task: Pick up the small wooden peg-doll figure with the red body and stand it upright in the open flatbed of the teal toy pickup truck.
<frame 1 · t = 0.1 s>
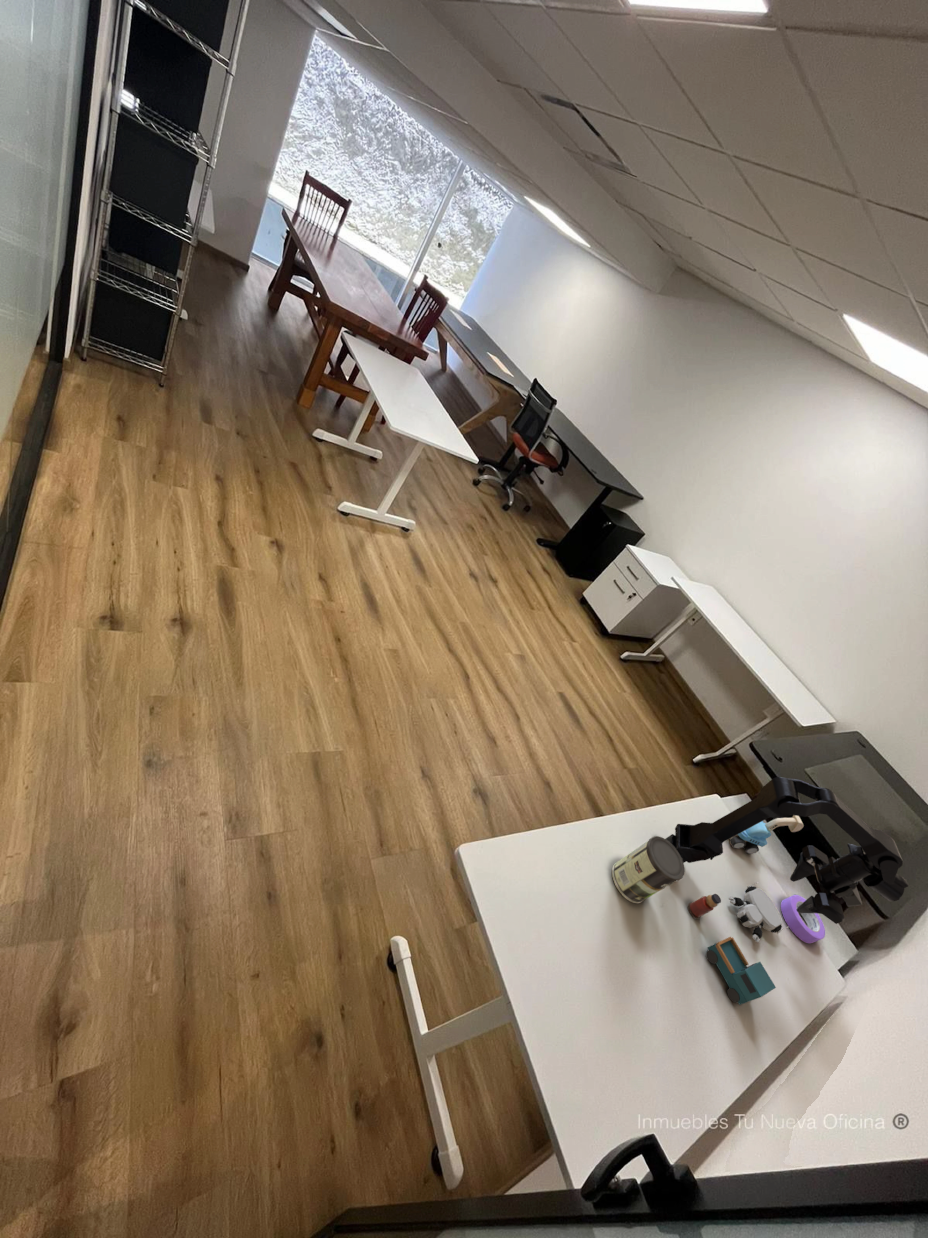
hand: (794, 895, 138), 15 cm above the table, tool pointing down, fingers open, 9 cm apart
robot toy: (749, 916, 146), on the table
figure: (693, 911, 137), on the table
toy excavator: (741, 841, 168), on the table
tape roll: (796, 921, 154), on the table
truck: (726, 973, 128), on the table
coffee can: (627, 882, 133), on the table
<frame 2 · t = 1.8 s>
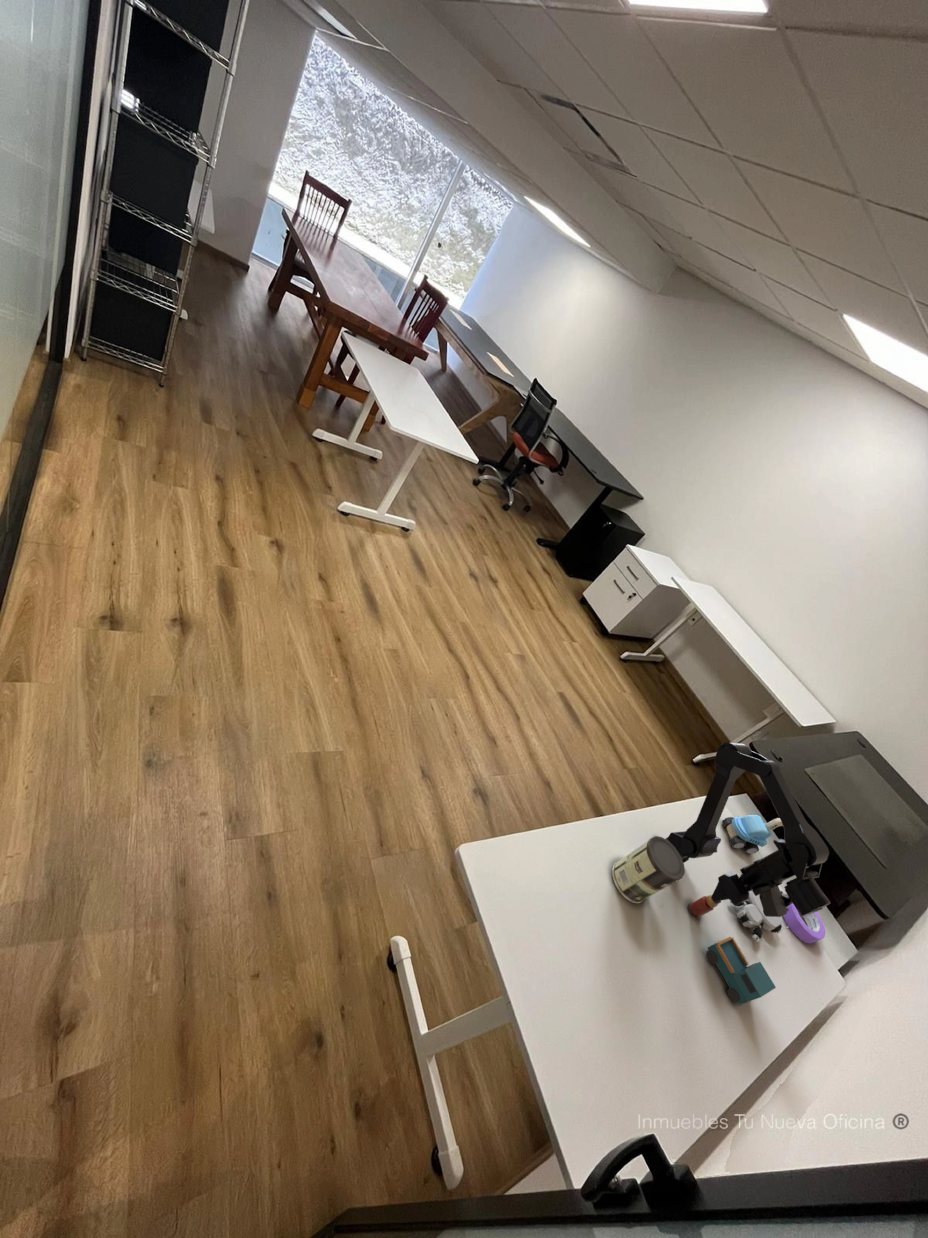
hand: (722, 895, 132), 10 cm above the table, tool pointing down, fingers open, 9 cm apart
nothing on the table moved.
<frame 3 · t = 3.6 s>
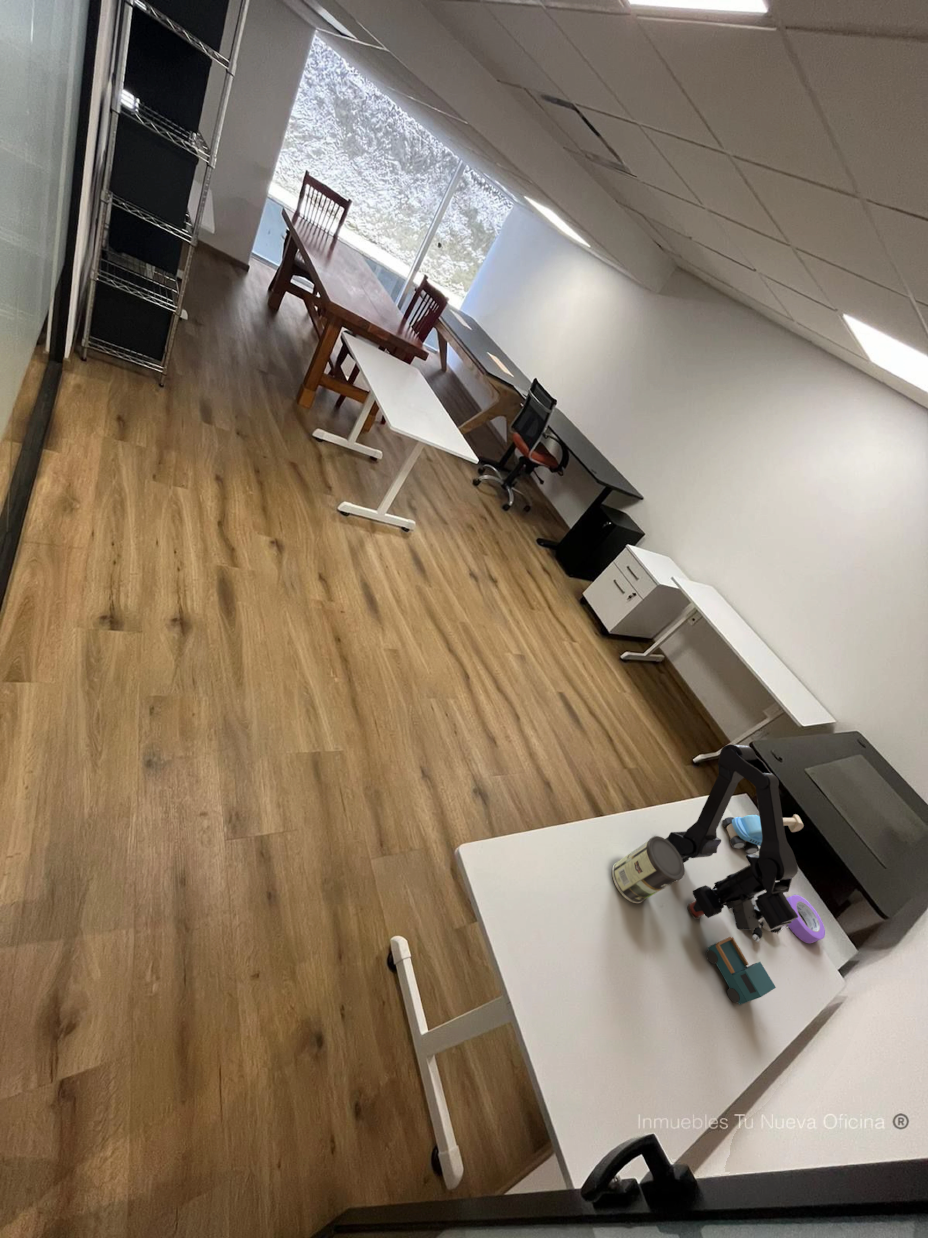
hand: (698, 908, 136), 2 cm above the table, tool pointing down, fingers closed on figure, 3 cm apart
figure: (693, 911, 137), on the table, touching gripper
everything else where it was.
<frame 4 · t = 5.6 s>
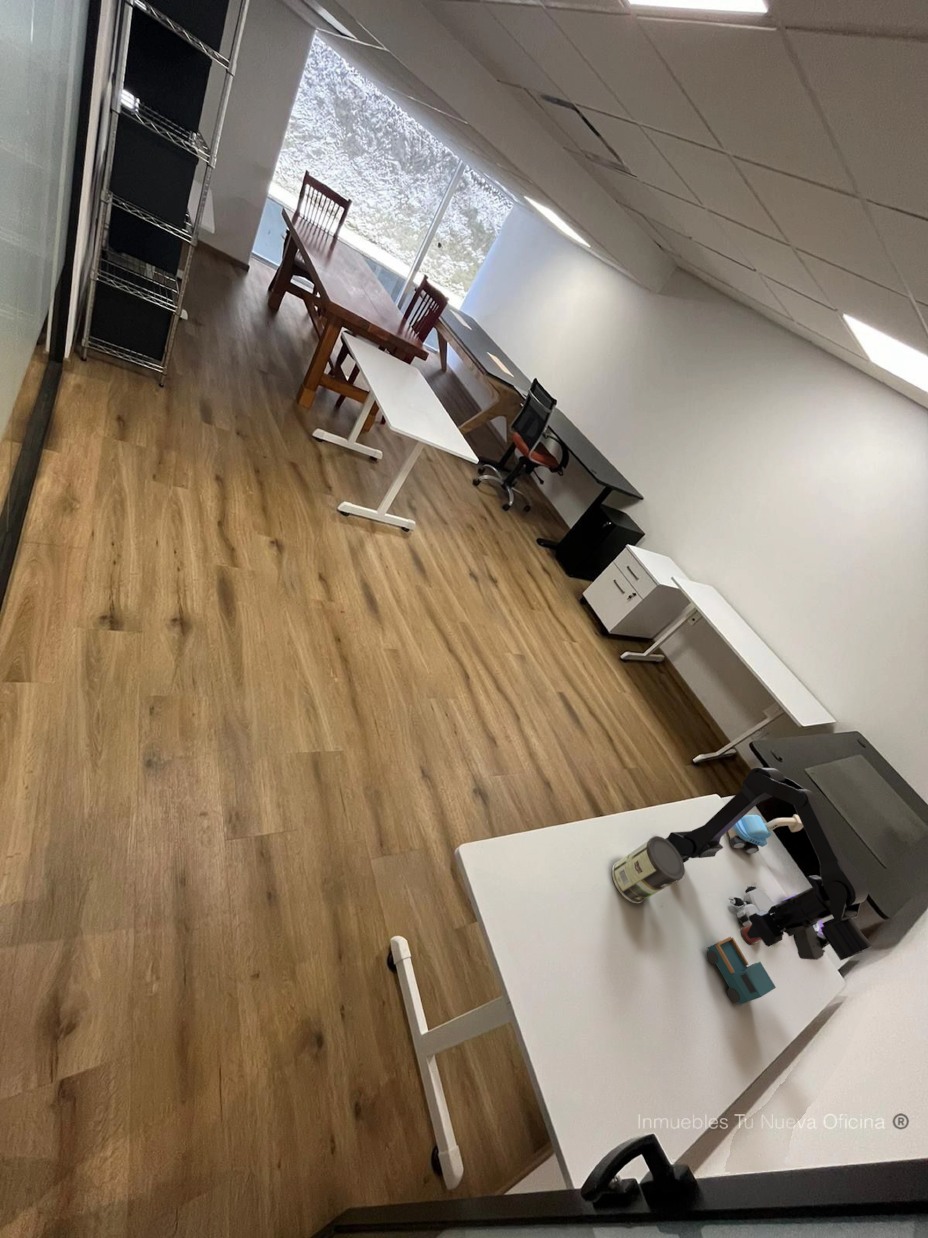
hand: (752, 934, 124), 12 cm above the table, tool pointing down, fingers closed on figure, 3 cm apart
figure: (746, 937, 125), point 10 cm above the table, touching gripper
everything else where it was.
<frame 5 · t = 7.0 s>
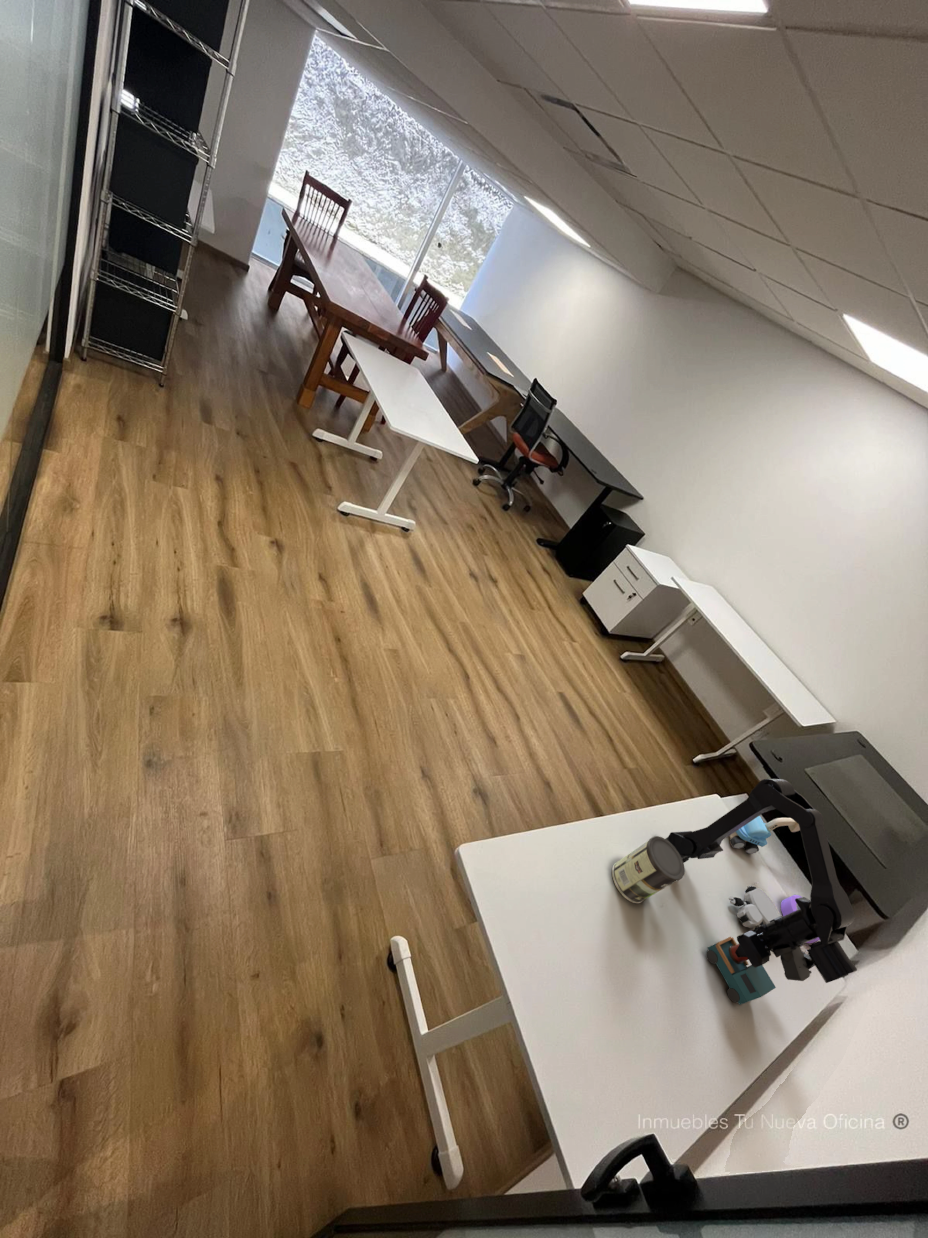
hand: (740, 952, 126), 7 cm above the table, tool pointing down, fingers closed on figure, 3 cm apart
figure: (735, 955, 127), point 5 cm above the table, touching gripper
everything else where it was.
when the fingers open (6 cm above the table, at t = 7.6 s): figure stays where it is, resting on truck.
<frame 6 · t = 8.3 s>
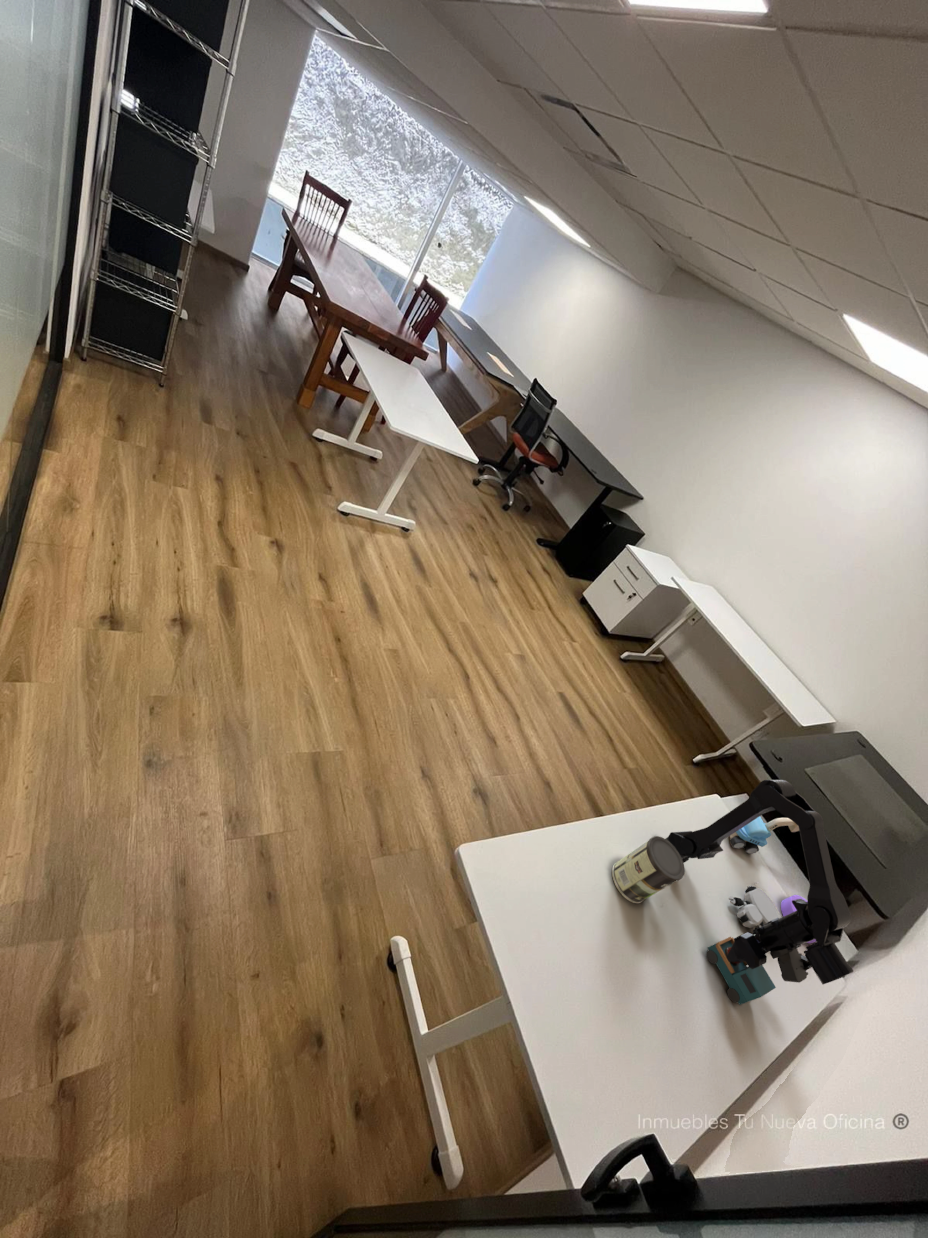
hand: (738, 954, 126), 6 cm above the table, tool pointing down, fingers open, 9 cm apart
figure: (731, 957, 127), point 4 cm above the table, touching truck
truck: (726, 973, 128), on the table, touching figure
everything else where it was.
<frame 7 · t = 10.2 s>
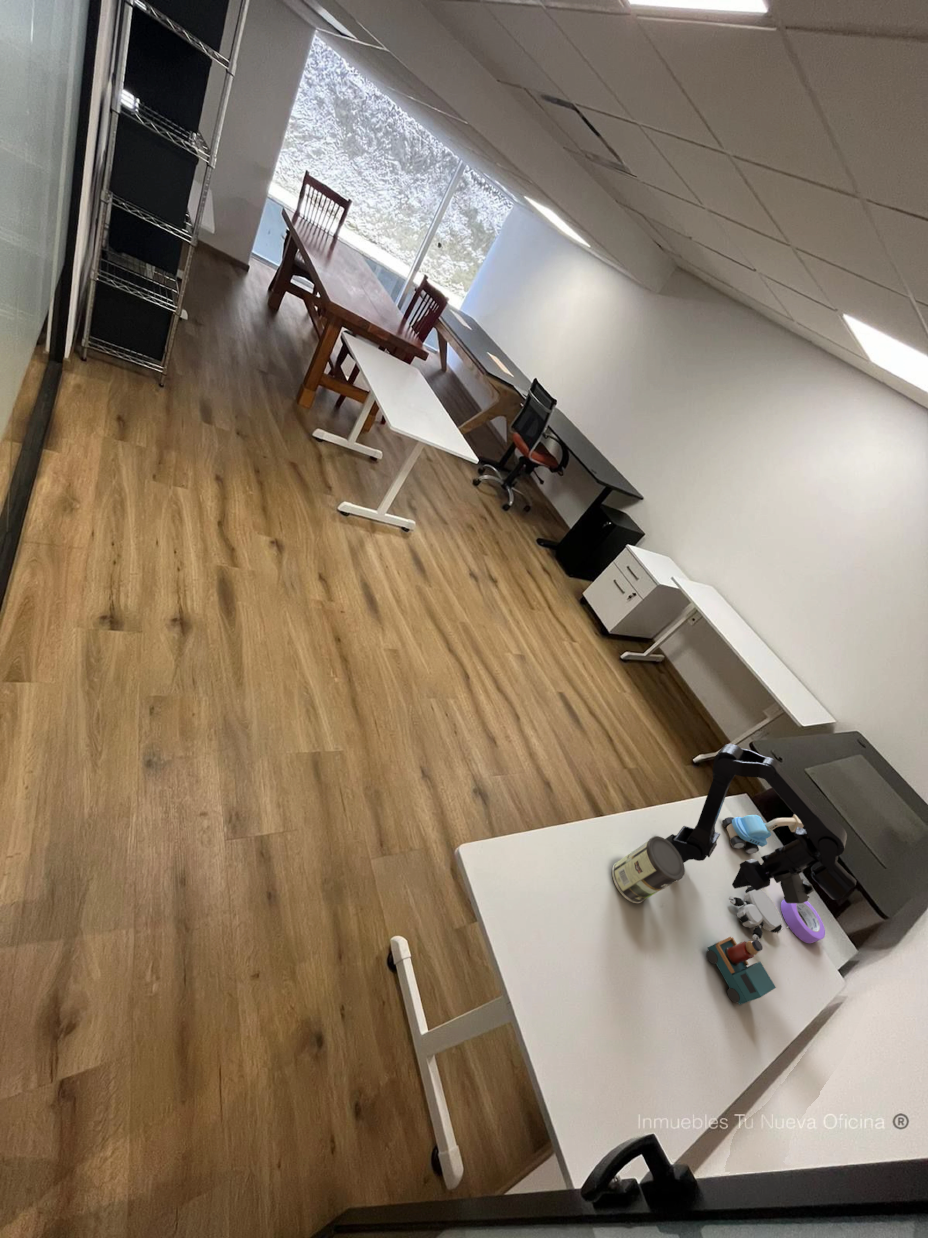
hand: (743, 883, 134), 13 cm above the table, tool pointing down, fingers open, 9 cm apart
nothing on the table moved.
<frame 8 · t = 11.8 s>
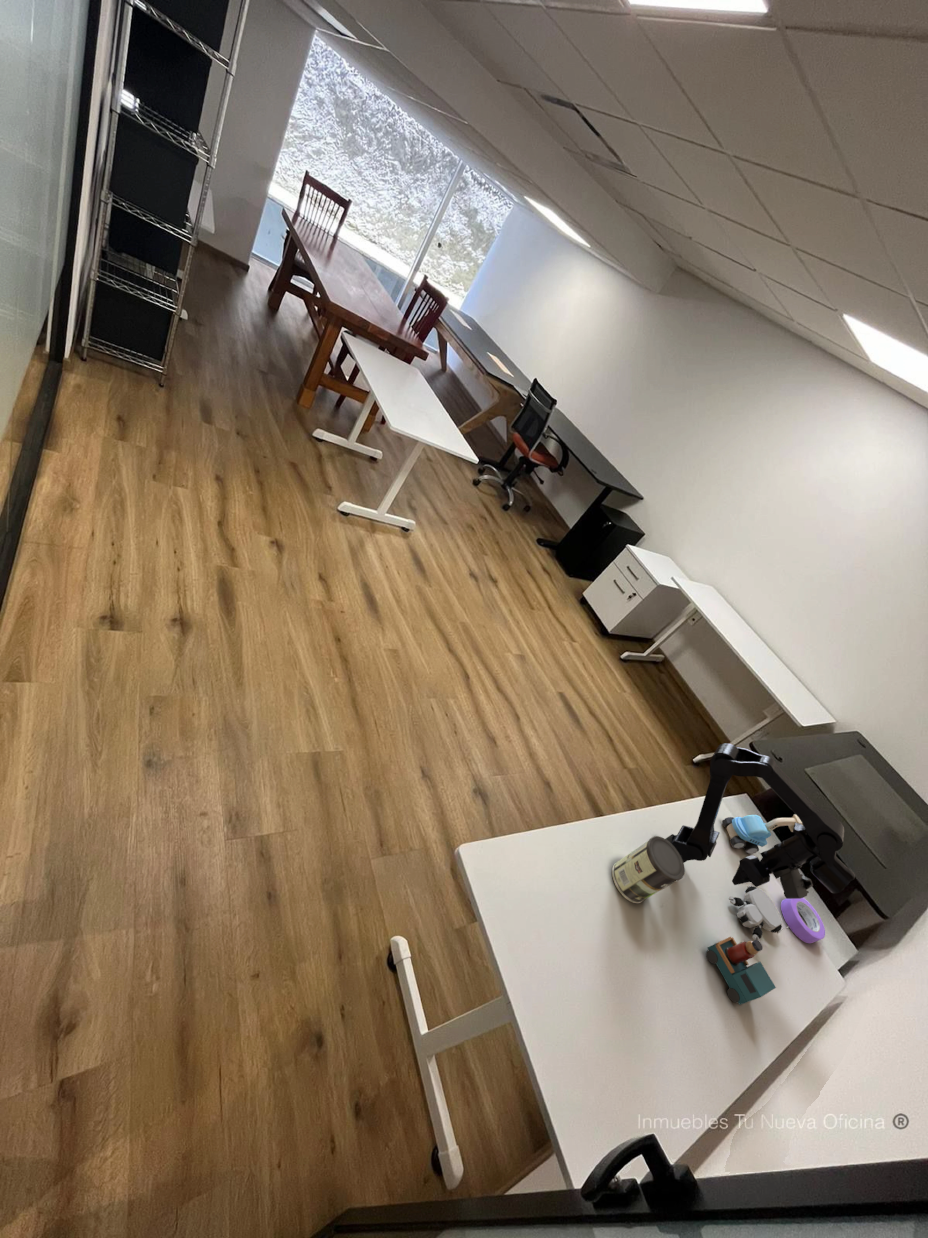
hand: (742, 879, 135), 13 cm above the table, tool pointing down, fingers open, 9 cm apart
nothing on the table moved.
at the end: figure 0.0 cm from the target spot on the truck, point 3.8 cm above the truck's base; figure tilted 0°; truck moved 0.0 cm from its start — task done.
